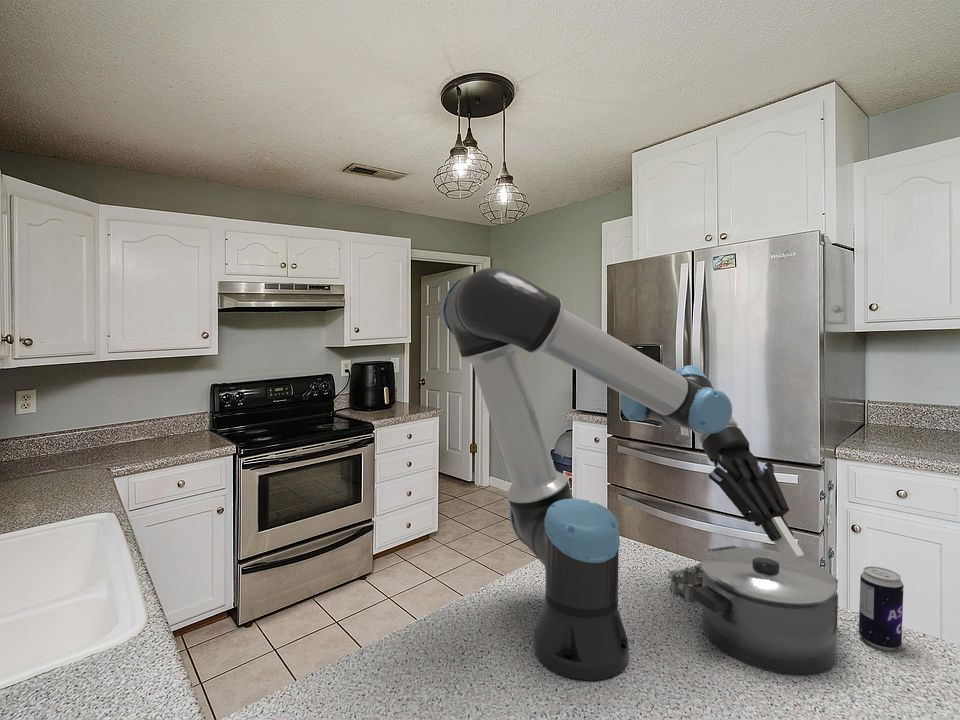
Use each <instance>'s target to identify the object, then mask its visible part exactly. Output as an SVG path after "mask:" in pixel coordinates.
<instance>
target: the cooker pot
mask: <svg viewBox="0 0 960 720" xmlns="http://www.w3.org/2000/svg"><path fill="white" fill-rule="evenodd" d="M835 579H836V582H837V586H838V582H839V581H838V579H837V578H835ZM838 595H839V594H838V592H837V593H836V596H835V597H834V598H833V599H831V600H829V601H827V602H824V603H820V604H814V605H786V604H777V603H771V602H766V601H761V600H757V599H753V598H749V597H746V596H743V595H740V594H737V593H734V592H732V591H730V590H727V589H725V588H723V587H721V586H719V585H718V584H716V583H714V582H713V581H712V580H710V579H709V578H708V577H707V576H706V575H705V574H704V572H703V586H702V587H698V588H693V598H694V599H695V600H697V601H698V603H699V604H701V629H702V631H703V633H704V636H706V638H707V639H708V641H710V643H711V644H712V645H714V646H715V647H716V648H717V649H719V650H720V651H721V652H723V653H724V654H726V655H727V656H730V657H731V658H732V659H735V660H737V661H739V662H741V663H744V664H746V665H748V666H751V667H754V668H756V669H760V670H763V671H766V672H769V673H770V672H771V673H774V674H775V673H776V674H782V675H788V676H813V675H819V674H822V673H825V672H827V671H829V670H830V669H831V668H832V667H834V666H835V663H837V662H836V661H837V649H838V648H837V642H838V639H837V638H838V637H837V636H838V611H839V610H838V608H839V607H838V606H839V604H838V603H839V596H838ZM697 601H696V602H697Z"/></svg>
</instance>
